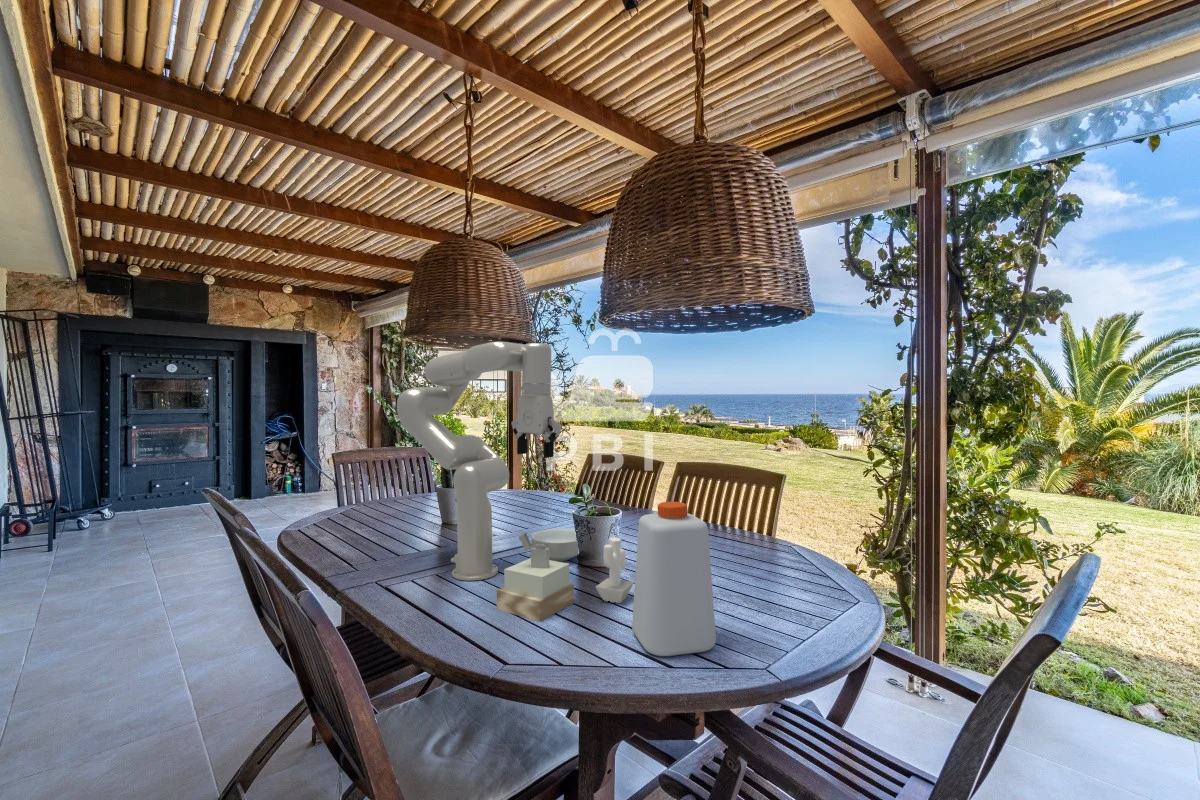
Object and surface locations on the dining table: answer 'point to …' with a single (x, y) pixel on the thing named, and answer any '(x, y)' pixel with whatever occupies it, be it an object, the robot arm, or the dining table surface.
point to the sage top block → (536, 578)
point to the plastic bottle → (673, 583)
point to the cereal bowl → (557, 543)
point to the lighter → (536, 552)
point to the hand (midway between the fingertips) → (535, 455)
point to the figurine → (614, 573)
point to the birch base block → (535, 603)
